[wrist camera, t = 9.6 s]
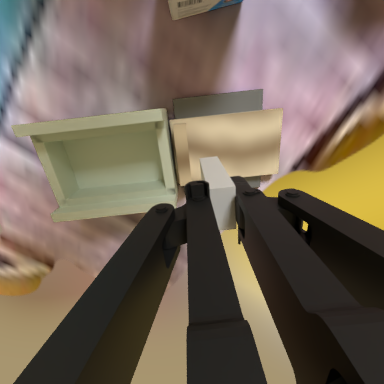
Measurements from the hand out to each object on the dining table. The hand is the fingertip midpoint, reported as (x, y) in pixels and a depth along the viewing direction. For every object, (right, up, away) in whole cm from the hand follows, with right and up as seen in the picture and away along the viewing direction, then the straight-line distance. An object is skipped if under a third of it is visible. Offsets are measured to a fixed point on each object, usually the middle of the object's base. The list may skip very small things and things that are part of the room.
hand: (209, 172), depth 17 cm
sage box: (-12, +3, +13) cm, 18 cm away
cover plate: (+3, +5, +12) cm, 13 cm away
